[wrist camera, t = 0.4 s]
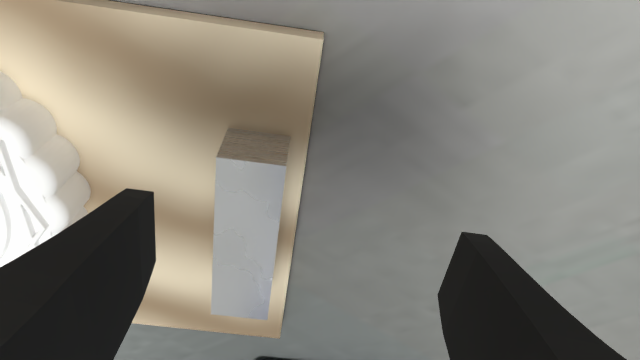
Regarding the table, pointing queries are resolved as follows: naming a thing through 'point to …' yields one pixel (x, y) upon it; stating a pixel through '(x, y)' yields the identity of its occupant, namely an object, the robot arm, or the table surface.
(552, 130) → the table surface
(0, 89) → the mooncake
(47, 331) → the robot arm
